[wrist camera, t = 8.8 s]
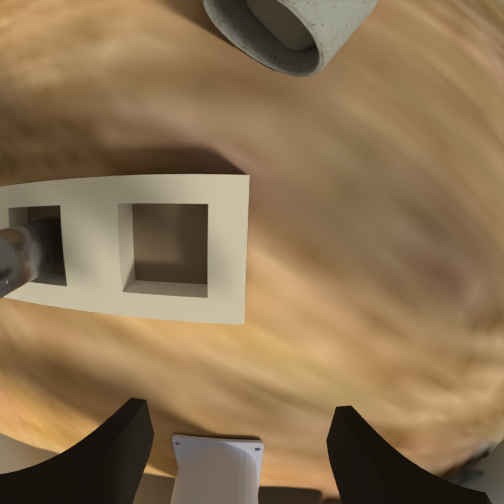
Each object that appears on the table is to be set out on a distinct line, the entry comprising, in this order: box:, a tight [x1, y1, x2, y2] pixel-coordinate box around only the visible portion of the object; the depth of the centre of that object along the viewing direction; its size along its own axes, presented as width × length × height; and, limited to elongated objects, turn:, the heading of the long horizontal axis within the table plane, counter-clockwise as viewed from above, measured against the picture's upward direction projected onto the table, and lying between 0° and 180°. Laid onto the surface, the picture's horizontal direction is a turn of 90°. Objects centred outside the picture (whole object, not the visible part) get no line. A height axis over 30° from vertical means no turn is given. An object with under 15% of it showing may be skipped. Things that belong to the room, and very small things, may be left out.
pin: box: [0, 216, 64, 298], centre depth 14 cm, size 4×4×8 cm
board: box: [0, 174, 250, 324], centre depth 17 cm, size 8×18×3 cm, turn 88°
